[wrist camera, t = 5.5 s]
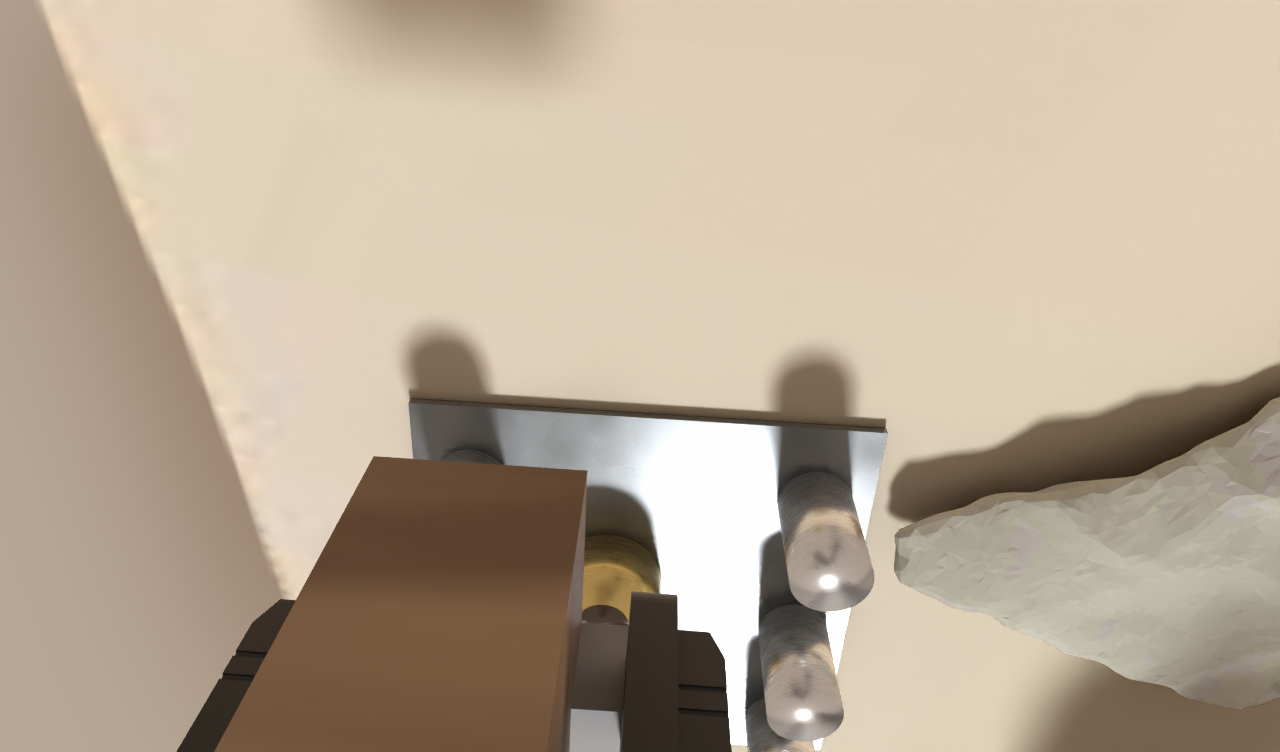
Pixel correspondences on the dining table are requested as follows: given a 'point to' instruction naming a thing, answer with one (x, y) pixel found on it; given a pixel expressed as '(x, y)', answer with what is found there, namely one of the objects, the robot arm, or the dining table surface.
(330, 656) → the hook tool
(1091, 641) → the stone tool
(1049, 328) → the dining table surface
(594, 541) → the gold short cylinder
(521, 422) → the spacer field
